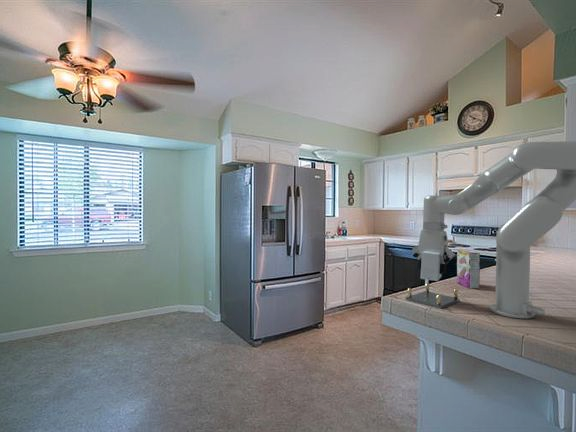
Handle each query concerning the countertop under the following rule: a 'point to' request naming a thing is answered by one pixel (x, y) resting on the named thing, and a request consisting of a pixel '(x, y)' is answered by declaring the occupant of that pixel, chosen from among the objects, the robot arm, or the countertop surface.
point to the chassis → (433, 298)
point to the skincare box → (430, 266)
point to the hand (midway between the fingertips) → (431, 271)
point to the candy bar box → (468, 268)
